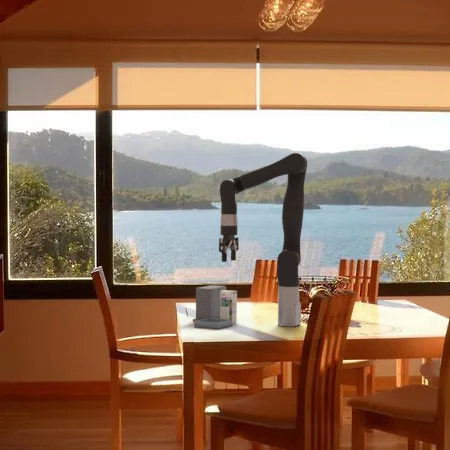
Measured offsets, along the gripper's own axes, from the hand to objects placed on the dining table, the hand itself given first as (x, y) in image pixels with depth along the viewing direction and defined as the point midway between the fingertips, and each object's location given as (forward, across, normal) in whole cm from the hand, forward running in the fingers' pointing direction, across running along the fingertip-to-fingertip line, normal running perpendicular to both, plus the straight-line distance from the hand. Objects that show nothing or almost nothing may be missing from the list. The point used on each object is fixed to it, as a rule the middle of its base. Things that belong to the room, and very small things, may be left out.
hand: (228, 261), depth 366 cm
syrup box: (+28, 0, 0) cm, 28 cm away
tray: (+28, +12, -1) cm, 30 cm away
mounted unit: (+28, -4, -11) cm, 30 cm away
